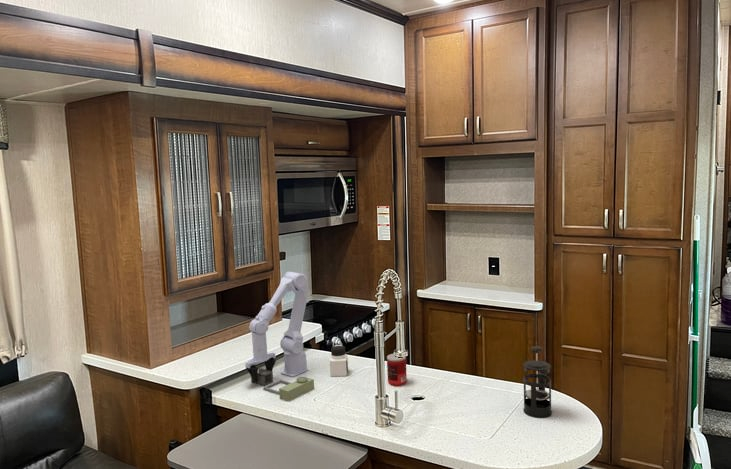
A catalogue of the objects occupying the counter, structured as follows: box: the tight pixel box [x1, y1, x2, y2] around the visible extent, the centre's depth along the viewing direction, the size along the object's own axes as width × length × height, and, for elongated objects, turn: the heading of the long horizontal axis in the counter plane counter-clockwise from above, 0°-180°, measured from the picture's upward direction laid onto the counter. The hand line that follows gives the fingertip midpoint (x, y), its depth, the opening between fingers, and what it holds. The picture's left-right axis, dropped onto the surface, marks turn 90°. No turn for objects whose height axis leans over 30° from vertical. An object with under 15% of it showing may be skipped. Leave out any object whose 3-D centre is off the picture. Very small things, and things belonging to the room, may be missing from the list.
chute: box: [250, 367, 274, 388], centre depth 219 cm, size 8×5×5 cm, turn 51°
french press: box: [522, 345, 553, 419], centre depth 180 cm, size 12×9×23 cm
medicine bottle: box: [329, 344, 349, 378], centre depth 225 cm, size 7×7×12 cm
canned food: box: [386, 353, 408, 387], centre depth 212 cm, size 8×8×11 cm
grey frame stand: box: [262, 376, 315, 402], centre depth 209 cm, size 14×17×5 cm
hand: (262, 379), depth 219 cm, fingers open, 7 cm apart
